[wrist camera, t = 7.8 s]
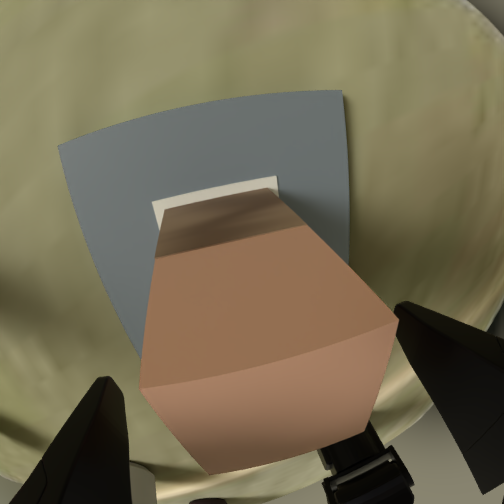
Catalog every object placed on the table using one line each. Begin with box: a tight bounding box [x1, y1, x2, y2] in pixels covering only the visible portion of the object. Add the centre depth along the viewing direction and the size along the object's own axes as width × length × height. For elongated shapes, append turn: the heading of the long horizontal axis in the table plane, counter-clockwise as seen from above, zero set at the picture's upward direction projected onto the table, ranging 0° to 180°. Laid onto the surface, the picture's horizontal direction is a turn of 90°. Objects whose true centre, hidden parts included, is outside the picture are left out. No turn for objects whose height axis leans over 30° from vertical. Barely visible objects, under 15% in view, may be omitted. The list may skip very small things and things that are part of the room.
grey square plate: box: [58, 90, 350, 359], centre depth 15 cm, size 14×14×1 cm
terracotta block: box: [139, 225, 399, 475], centre depth 8 cm, size 5×5×5 cm
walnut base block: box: [154, 188, 307, 259], centre depth 12 cm, size 5×5×5 cm
